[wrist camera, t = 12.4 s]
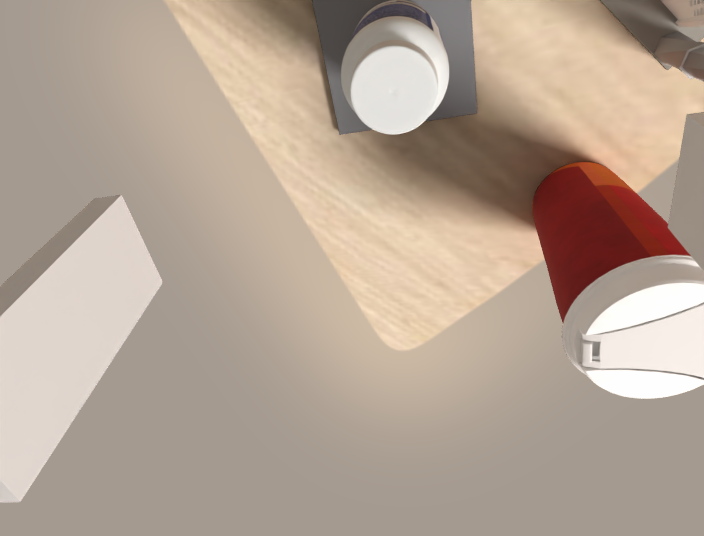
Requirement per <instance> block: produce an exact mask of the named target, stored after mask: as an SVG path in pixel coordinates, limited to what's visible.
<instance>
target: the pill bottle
mask: <svg viewBox="0 0 704 536" xmlns="http://www.w3.org/2000/svg"><path fill="white" fill-rule="evenodd" d="M448 81H449V62H448V56H447V53H446V50H445V47H444V44H443V41H442V37H441V34H440V31H439V28H438V26H437V25H436V23H435V21H434V20H433V18H432V17H431V16H430V14H429V13H428V12H427V11H425V10H424V9H423V8H422V7H420V6H419V5H417V4H415V3H413V2H410V1H406V0H391V1H387V2H383V3H381V4H379V5H377V6H375V7H373V8H372V9H371V10H369V11H368V12H367V13H366V14H365V15H364V17H363V18H362V19H361V20H360V22H359V23H358V25H357V27H356V29H355V31H354V33H353V36H352V38H351V41H350V43H349V45H348V47H347V49H346V51H345V54H344V57H343V61H342V67H341V84H342V89H343V92H344V95H345V97H346V100H347V102H348V103H349V105H350V106H351V108H352V109H353V111H354V112H355V113H356V114H357V116H358V117H359V118H360V120H361V121H362V122H363V123H364V124H365V125H367V126H368V127H370V128H371V129H373V130H375V131H377V132H380V133H384V134H393V135H394V134H402V133H406V132H409V131H411V130H413V129H415V128H417V127H418V126H420V125H421V124H422V123H423V122H424V121H425V120H426V119H427V118H428V117H429V116H430V115H431V114H432V113H433V112H434V111H435V110H436V109H437V107H438V106H439V104H440V103H441V101H442V99H443V97H444V95H445V93H446V90H447V86H448Z"/></svg>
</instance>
